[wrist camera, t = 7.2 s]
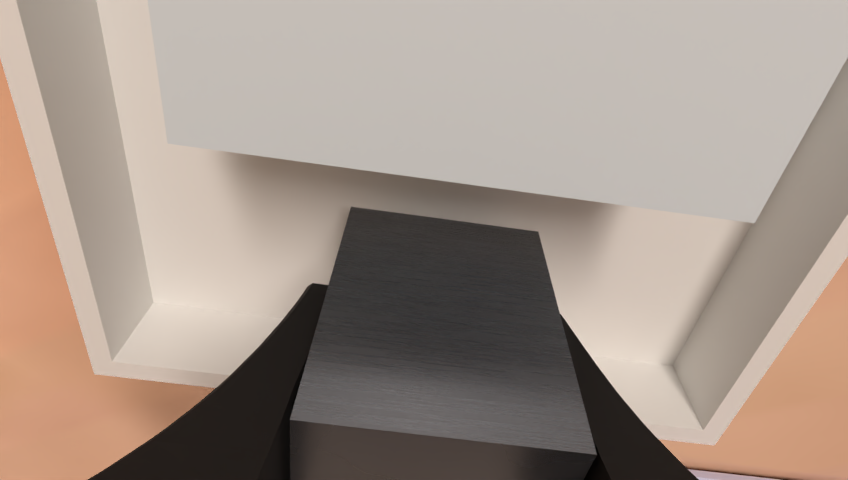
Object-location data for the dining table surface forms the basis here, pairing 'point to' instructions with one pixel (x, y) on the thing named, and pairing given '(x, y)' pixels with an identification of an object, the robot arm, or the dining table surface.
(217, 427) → the robot arm
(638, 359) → the tote
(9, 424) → the dining table surface
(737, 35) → the plain white rectangular box
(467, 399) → the metal block
